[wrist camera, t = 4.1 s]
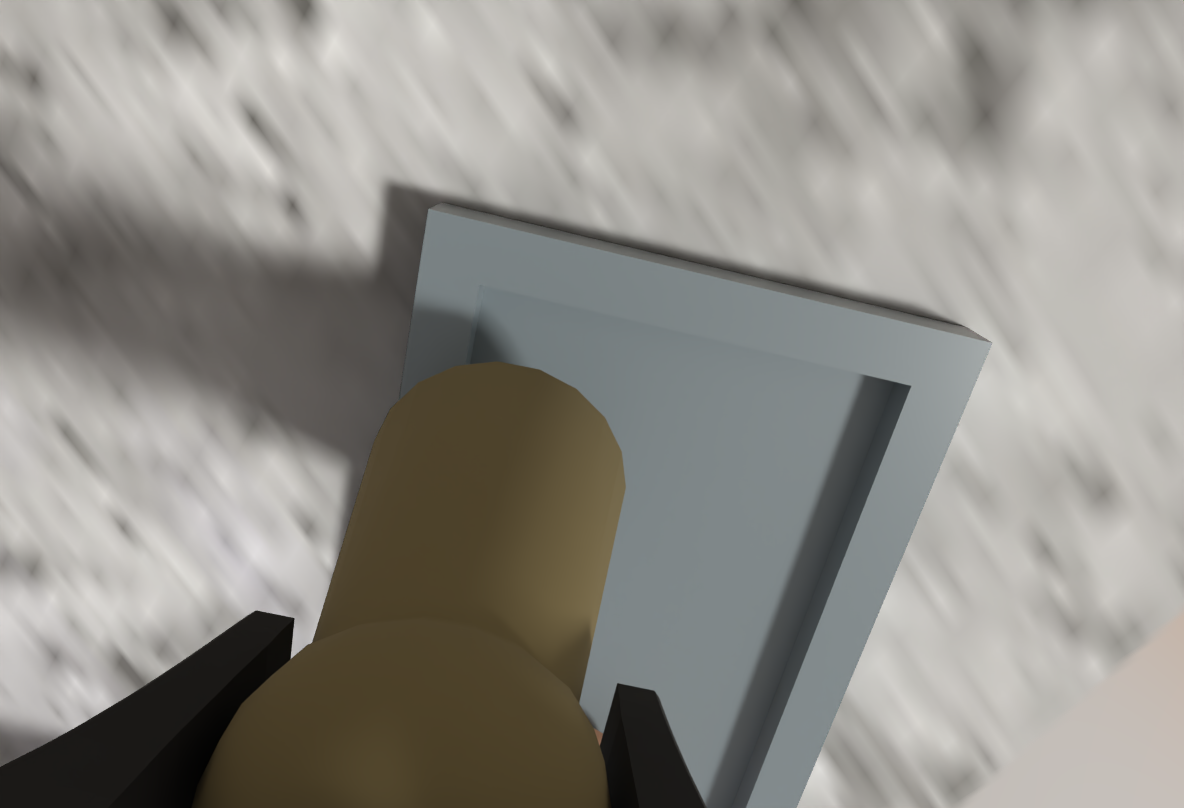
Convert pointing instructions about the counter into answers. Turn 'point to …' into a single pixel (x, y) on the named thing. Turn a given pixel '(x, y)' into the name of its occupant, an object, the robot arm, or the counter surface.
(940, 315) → the counter surface
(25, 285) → the counter surface
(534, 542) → the pepper shaker
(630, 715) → the robot arm
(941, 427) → the tray
